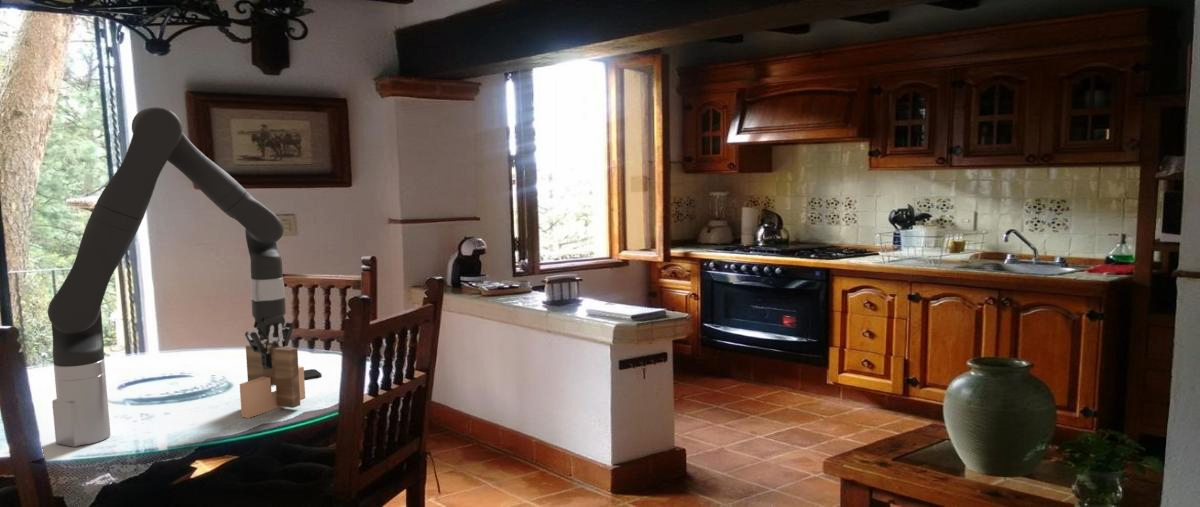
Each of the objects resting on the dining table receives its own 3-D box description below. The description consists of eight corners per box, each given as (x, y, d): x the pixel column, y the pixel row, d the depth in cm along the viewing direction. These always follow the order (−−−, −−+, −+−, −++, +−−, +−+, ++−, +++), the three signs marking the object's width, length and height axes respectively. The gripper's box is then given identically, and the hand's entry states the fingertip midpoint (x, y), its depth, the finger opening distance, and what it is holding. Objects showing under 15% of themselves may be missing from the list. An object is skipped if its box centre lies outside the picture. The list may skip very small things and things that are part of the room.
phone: (322, 374, 228) (265, 383, 219) (322, 378, 228) (265, 387, 219) (314, 368, 234) (258, 376, 226) (314, 372, 234) (258, 380, 226)
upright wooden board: (293, 407, 196) (289, 350, 195) (249, 401, 202) (245, 345, 200) (300, 405, 199) (297, 348, 197) (256, 398, 204) (253, 343, 203)
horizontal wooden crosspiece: (249, 418, 192) (247, 385, 191) (241, 417, 193) (239, 384, 192) (305, 397, 208) (303, 366, 207) (297, 396, 209) (296, 365, 208)
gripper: (278, 291, 205) (281, 359, 207) (233, 300, 192) (237, 372, 194) (301, 293, 202) (305, 362, 204) (257, 302, 189) (261, 375, 191)
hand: (272, 366), depth 199 cm, fingers closed on upright wooden board, 2 cm apart
